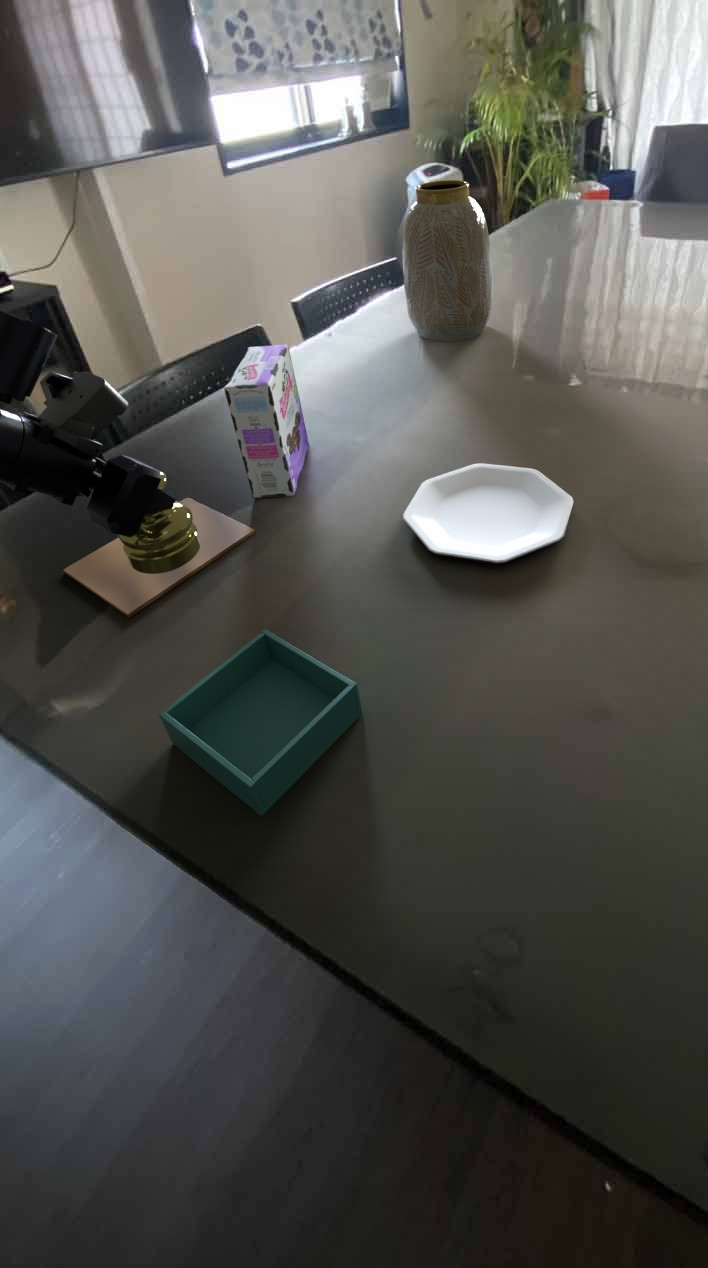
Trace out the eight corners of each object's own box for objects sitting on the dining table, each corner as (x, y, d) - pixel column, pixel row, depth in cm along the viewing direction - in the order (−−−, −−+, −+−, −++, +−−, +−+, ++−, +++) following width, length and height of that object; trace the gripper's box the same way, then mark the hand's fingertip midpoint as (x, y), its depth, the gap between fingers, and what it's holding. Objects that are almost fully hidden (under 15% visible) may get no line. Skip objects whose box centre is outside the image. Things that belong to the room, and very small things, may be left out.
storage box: (261, 816, 54) (250, 787, 52) (172, 743, 60) (158, 714, 58) (363, 713, 61) (356, 683, 59) (273, 657, 68) (265, 629, 65)
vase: (418, 315, 147) (406, 178, 131) (498, 314, 143) (495, 173, 128) (400, 346, 133) (384, 197, 118) (487, 346, 129) (483, 192, 114)
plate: (553, 580, 74) (554, 569, 73) (385, 554, 80) (384, 544, 79) (580, 483, 89) (581, 473, 88) (437, 467, 95) (436, 458, 94)
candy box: (295, 497, 91) (268, 384, 82) (251, 500, 92) (221, 387, 82) (311, 446, 103) (289, 341, 93) (272, 448, 103) (247, 344, 94)
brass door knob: (183, 524, 76) (156, 446, 71) (214, 552, 72) (188, 471, 66) (118, 554, 73) (85, 474, 67) (147, 586, 68) (114, 503, 62)
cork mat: (128, 618, 74) (127, 614, 74) (64, 573, 82) (62, 569, 81) (255, 532, 85) (254, 529, 85) (188, 500, 93) (187, 497, 93)
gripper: (101, 381, 51) (249, 447, 64) (-4, 338, 62) (142, 403, 75) (40, 517, 51) (201, 556, 64) (-56, 451, 61) (100, 496, 74)
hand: (159, 495), depth 69 cm, fingers closed on brass door knob, 5 cm apart
